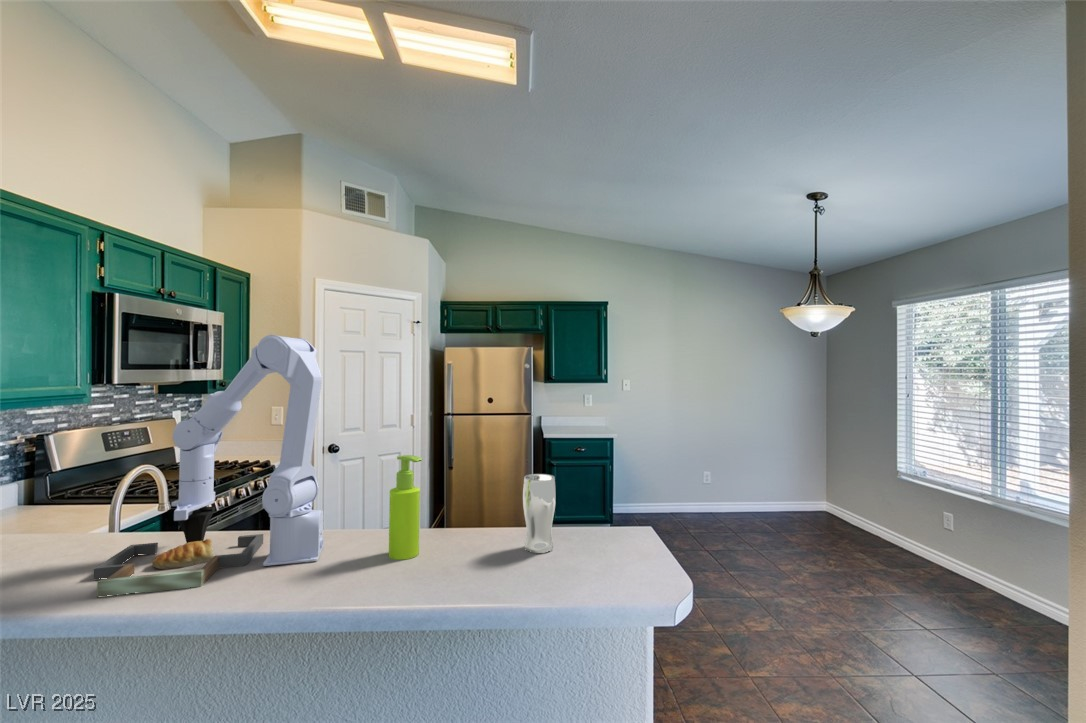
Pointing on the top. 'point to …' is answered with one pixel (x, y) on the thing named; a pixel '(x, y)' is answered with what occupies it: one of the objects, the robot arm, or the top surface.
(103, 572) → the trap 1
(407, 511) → the soap dispenser
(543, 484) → the beer glass
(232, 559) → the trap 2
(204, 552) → the pastry
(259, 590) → the top surface
